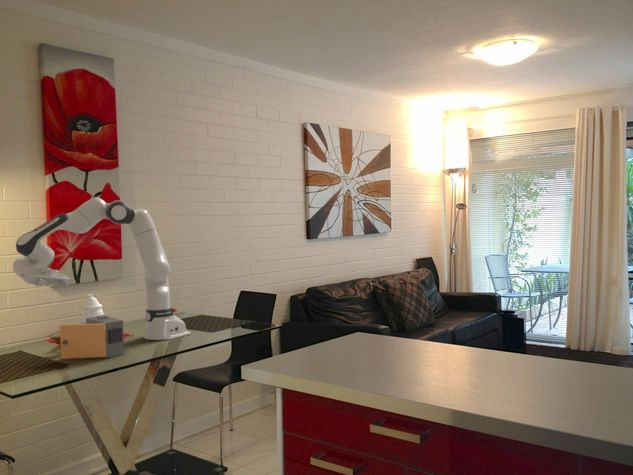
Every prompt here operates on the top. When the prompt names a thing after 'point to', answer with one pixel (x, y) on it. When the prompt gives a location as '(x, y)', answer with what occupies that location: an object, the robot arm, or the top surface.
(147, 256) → the robot arm
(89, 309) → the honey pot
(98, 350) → the side door
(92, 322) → the block
